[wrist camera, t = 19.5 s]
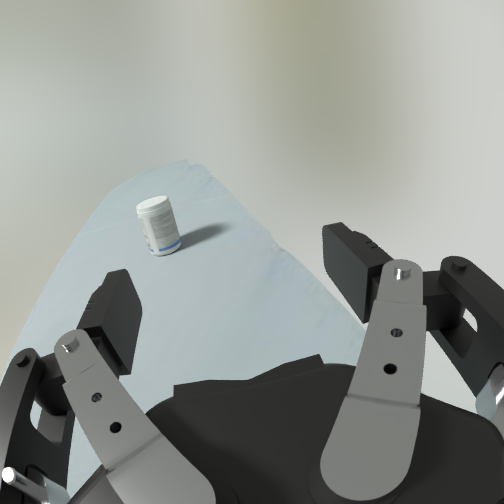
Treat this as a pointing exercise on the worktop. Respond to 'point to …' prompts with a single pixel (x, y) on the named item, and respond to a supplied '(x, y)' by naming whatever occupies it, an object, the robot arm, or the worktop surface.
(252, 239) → the worktop surface
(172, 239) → the supplement tub
